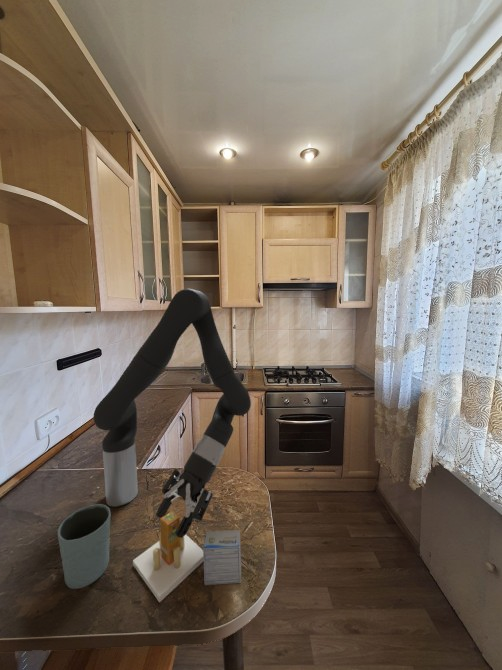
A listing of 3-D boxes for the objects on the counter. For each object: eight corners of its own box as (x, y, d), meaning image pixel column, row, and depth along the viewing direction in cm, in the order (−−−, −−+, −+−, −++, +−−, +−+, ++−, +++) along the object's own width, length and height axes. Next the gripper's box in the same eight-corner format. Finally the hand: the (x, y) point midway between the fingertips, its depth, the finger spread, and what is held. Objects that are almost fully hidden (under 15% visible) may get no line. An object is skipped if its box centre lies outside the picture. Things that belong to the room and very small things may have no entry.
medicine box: (241, 564, 58) (240, 528, 57) (241, 584, 53) (240, 546, 53) (207, 566, 57) (205, 530, 57) (204, 586, 53) (202, 548, 52)
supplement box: (168, 567, 56) (166, 525, 55) (161, 557, 58) (158, 517, 58) (181, 556, 58) (179, 516, 58) (173, 547, 61) (171, 509, 60)
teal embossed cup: (85, 547, 63) (82, 502, 62) (123, 550, 62) (120, 504, 61) (49, 591, 53) (44, 538, 52) (93, 595, 52) (89, 541, 51)
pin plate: (133, 565, 58) (131, 544, 58) (178, 531, 67) (177, 512, 67) (159, 602, 50) (158, 578, 50) (206, 558, 59) (205, 537, 59)
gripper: (180, 443, 68) (142, 507, 61) (215, 462, 59) (174, 540, 51) (197, 453, 73) (163, 515, 65) (231, 472, 63) (196, 546, 56)
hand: (168, 526), depth 58 cm, fingers open, 8 cm apart
